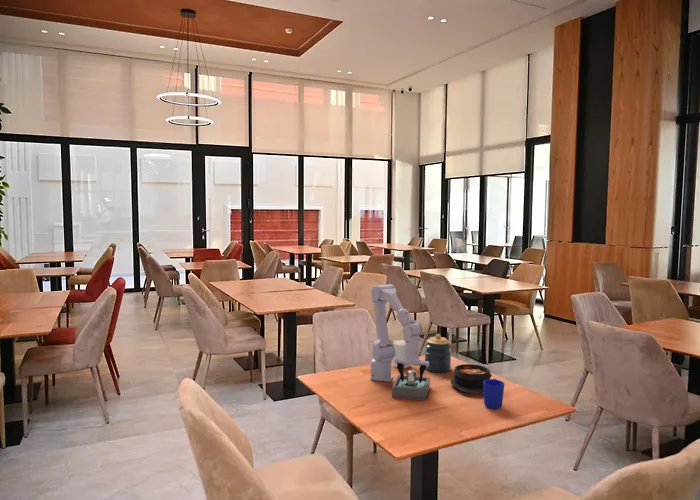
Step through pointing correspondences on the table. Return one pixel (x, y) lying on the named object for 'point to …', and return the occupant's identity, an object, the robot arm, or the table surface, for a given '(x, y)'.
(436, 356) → the canister
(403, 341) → the candle holder
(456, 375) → the casserole
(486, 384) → the mug
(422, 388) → the tray
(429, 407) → the table surface
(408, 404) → the table surface
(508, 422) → the table surface
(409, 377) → the peg
